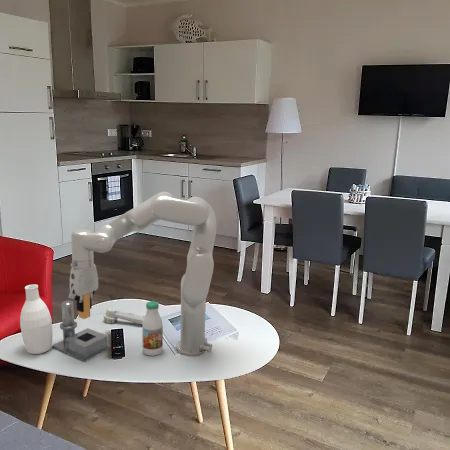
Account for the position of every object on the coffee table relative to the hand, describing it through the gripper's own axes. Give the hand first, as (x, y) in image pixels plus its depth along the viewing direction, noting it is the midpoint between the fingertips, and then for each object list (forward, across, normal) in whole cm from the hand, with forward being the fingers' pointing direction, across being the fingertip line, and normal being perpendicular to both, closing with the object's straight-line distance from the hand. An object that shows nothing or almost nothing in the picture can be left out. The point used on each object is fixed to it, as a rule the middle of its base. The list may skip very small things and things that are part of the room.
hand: (84, 308), depth 172 cm
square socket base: (+17, 0, +3) cm, 17 cm away
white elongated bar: (+17, +27, +2) cm, 32 cm away
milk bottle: (+17, +14, -21) cm, 31 cm away
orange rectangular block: (+3, 0, 0) cm, 3 cm away
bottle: (+17, -10, +15) cm, 25 cm away
